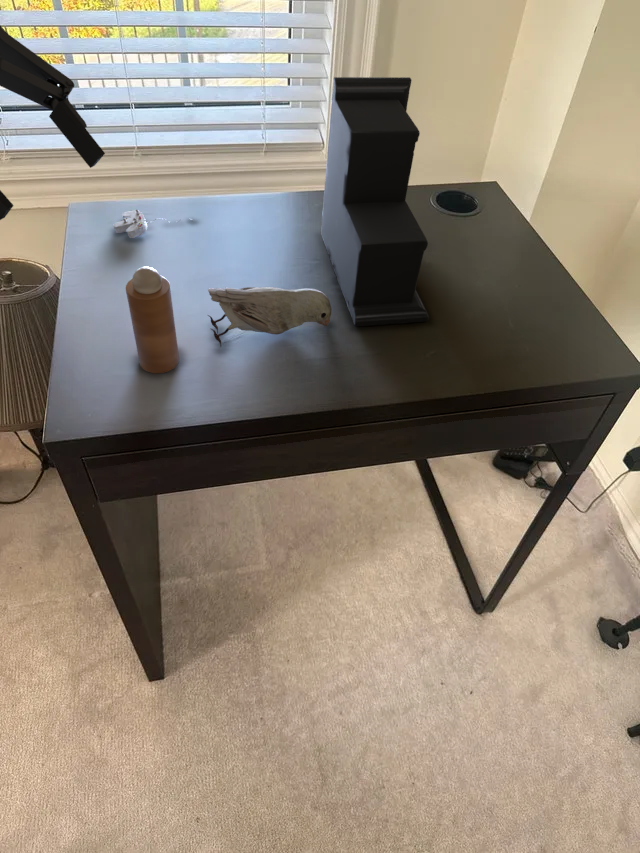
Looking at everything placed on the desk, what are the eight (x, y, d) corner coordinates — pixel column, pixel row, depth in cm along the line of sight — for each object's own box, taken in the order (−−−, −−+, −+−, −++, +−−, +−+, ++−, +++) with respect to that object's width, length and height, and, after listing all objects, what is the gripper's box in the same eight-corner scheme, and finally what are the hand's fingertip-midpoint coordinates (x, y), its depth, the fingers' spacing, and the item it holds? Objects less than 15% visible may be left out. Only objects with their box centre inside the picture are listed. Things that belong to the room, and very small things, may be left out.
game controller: (108, 226, 99) (105, 210, 97) (174, 207, 105) (173, 192, 103) (126, 243, 96) (123, 227, 94) (192, 222, 102) (191, 207, 100)
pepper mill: (131, 364, 79) (112, 273, 69) (155, 343, 82) (140, 252, 72) (163, 378, 77) (149, 287, 68) (186, 356, 80) (176, 265, 71)
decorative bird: (334, 338, 85) (339, 290, 79) (212, 352, 81) (209, 304, 76) (324, 313, 88) (328, 266, 83) (206, 326, 85) (203, 277, 79)
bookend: (429, 322, 88) (470, 153, 71) (353, 328, 86) (376, 156, 69) (384, 232, 103) (409, 75, 86) (319, 235, 101) (331, 75, 84)
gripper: (-235, -7, 50) (-28, 222, 57) (5, -61, 66) (145, 125, 73) (-241, 52, 56) (-51, 255, 63) (-17, -10, 71) (115, 158, 78)
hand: (55, 185), depth 68 cm, fingers open, 13 cm apart
